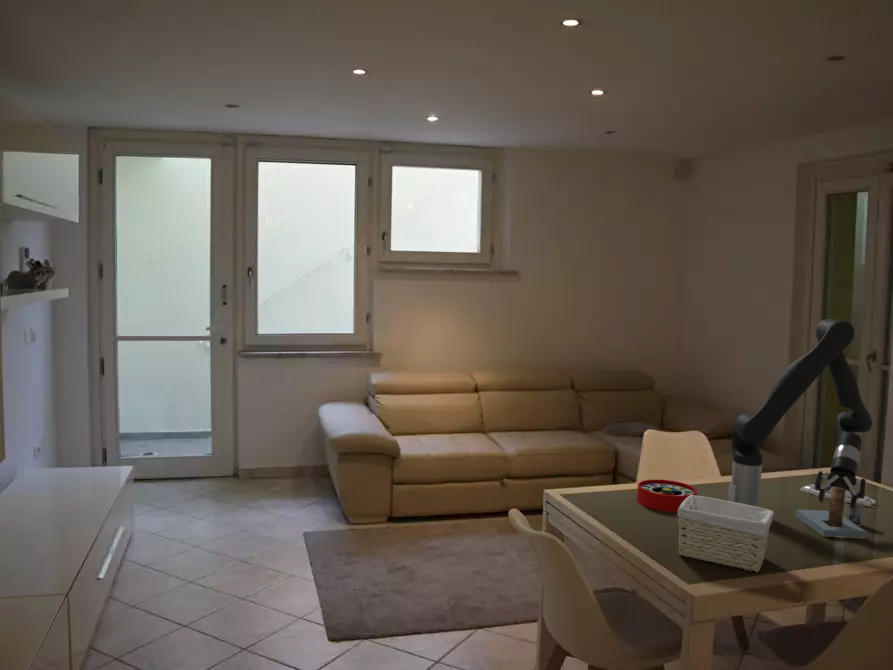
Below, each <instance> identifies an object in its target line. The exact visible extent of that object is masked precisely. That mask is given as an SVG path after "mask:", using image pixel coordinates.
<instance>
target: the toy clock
mask: <svg viewBox="0 0 893 670" xmlns="http://www.w3.org/2000/svg"><path fill="white" fill-rule="evenodd" d="M690 495H694V496H698V490H697V488H696V487H694V486H693V485H690V484H687V483H684V482H680V481H676V480H668V479H644V480H642V481H641V480H640V481H639V482H638V483H637V490H636V502H637V503H638V504H639V503H640V504H641V506H642V505H643V507H645V506H646V507H645V508H647V507H649V508H648V509H650V508H652V509H651V510H654V509H656V510H655V511H658V510H662V511H661V512H664V511H669V512H668V513H677V512H678V508H679V507H680V505H681V504H682V502H683V501H684V500H685V499H686V498H687V497H689V496H690ZM640 504H639V505H640Z"/></svg>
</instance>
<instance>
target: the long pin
mask: <svg viewBox="0 0 893 670" xmlns="http://www.w3.org/2000/svg"><path fill="white" fill-rule="evenodd" d="M845 492H846V490H845V489H844V488H841V487H831V493H830V494H831V496H830V499H829V507H828V508H829V509H828V511H829V518H828V525H829V526H830V527H842V520H843V517H844V509H845V508H844V507H845V506H844V505H845V503H844V499H845V498H846V497H845Z"/></svg>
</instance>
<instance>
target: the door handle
mask: <svg viewBox="0 0 893 670" xmlns="http://www.w3.org/2000/svg"><path fill="white" fill-rule="evenodd" d="M799 491H801V492H804V493H805V492H806V494H810V495H812V494H813V496H817V497H819V492H820V491H819V490H816V489H815V483H814V484H813V483H811V484H807V485H805V486H802V487H801V488H800V489H799ZM830 496H831V490H828V491H826V492H825V497H824V499H827V500H830ZM845 496H846V497H845V499H844V502H845V503H844V504H848V503H850V502H851V497H852V495H851V494H850V493H849V491H845ZM848 497H850V498H848ZM857 502H858V503H862V504H863V507H864V506H868V507H871V506H872V505H871V503H872V504H873V505H875V504H876V503H877V501H876V500H875V499H872V498H870V497H869V496H866V495H865V496H864V499H861V498H858V500H857Z"/></svg>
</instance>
